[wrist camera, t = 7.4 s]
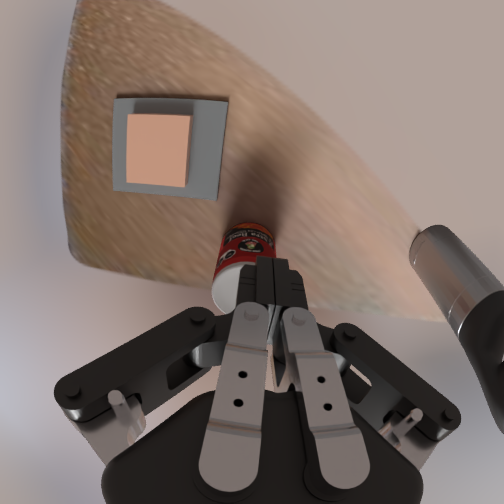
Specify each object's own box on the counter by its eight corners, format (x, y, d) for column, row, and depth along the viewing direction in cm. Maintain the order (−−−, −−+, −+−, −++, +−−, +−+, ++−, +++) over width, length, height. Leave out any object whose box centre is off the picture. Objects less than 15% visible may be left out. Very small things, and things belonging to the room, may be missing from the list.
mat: (228, 102, 32) (227, 102, 31) (217, 199, 39) (216, 200, 38) (116, 98, 31) (114, 98, 31) (114, 189, 38) (113, 190, 37)
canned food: (279, 224, 40) (286, 270, 31) (269, 272, 44) (271, 323, 35) (224, 216, 40) (214, 259, 30) (218, 264, 44) (208, 315, 35)
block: (190, 116, 31) (127, 114, 30) (184, 187, 35) (126, 182, 35) (193, 115, 32) (133, 113, 32) (187, 183, 37) (131, 178, 36)
